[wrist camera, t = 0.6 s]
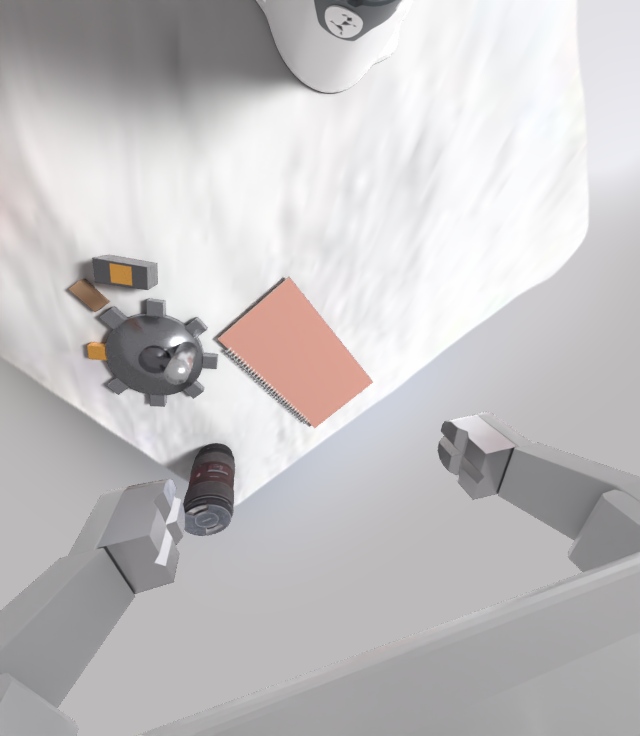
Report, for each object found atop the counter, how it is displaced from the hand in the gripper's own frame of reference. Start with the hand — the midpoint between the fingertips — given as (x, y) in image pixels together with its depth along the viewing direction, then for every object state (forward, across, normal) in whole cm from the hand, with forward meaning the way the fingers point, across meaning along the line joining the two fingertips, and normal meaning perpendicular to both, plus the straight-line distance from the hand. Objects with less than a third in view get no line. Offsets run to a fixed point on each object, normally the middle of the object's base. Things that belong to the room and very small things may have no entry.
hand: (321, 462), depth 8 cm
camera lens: (+42, +14, +35) cm, 57 cm away
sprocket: (+42, +18, +11) cm, 47 cm away
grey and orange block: (+42, +18, -2) cm, 46 cm away
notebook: (+43, -6, +17) cm, 46 cm away
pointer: (+42, +24, +1) cm, 48 cm away
